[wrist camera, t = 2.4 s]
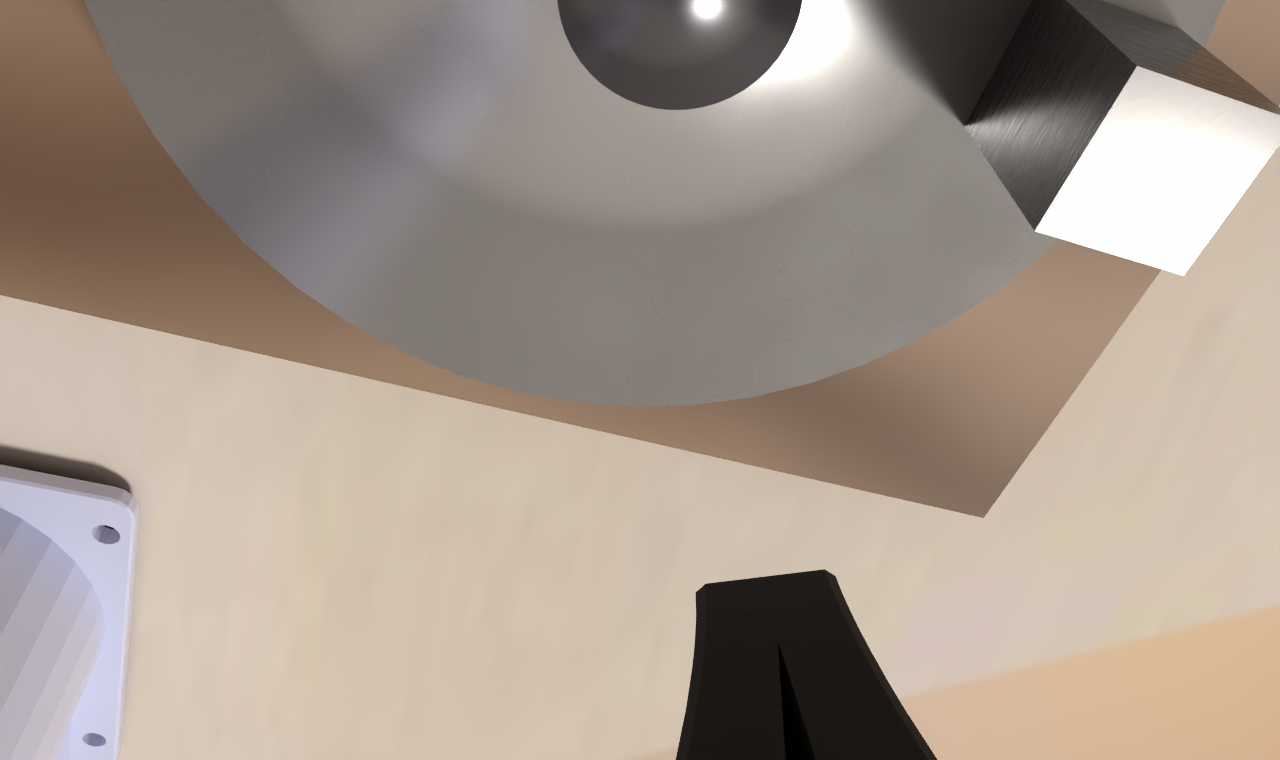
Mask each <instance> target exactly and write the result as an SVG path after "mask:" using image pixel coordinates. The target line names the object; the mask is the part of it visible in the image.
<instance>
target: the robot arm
mask: <svg viewBox="0 0 1280 760" xmlns="http://www.w3.org/2000/svg"><path fill="white" fill-rule="evenodd" d="M139 515H140V508H139V503H138V501H137V500H136V499H135V497H134V496H133V495H132V494H130V493H128V492H127V491H125V490H124V489H121V488H118V487H114V486H109V485H104V484H99V483H94V482H88V481H83V480H78V479H73V478H68V477H63V476H57V475H52V474H47V473H42V472H37V471H32V470H27V469H21V468H16V467H11V466H6V465H1V464H0V760H118V758H119V755H120V746H121V734H122V722H123V710H124V697H125V685H126V673H127V661H128V649H129V637H130V624H131V612H132V600H133V588H134V576H135V564H136V551H137V539H138V527H139ZM104 525H107V526H110V527H113V528H114V529H116V530H112V529H109V528H107V527H105V526H104ZM676 760H937V758H936V757H935V755H934V754H933V752H932V751H931V749H930V748H929V746H928V745H927V743H926V742H925V740H924V738H923V737H922V735H921V734H920V732H919V731H918V729H917V728H916V726H915V725H914V723H913V721H912V720H911V718H910V717H909V715H908V714H907V712H906V711H905V709H904V707H903V706H902V704H901V702H900V701H899V699H898V698H897V696H896V694H895V693H894V691H893V689H892V688H891V686H890V684H889V683H888V681H887V679H886V677H885V676H884V674H883V672H882V670H881V668H880V667H879V665H878V663H877V661H876V660H875V658H874V656H873V654H872V653H871V651H870V649H869V647H868V645H867V643H866V641H865V639H864V638H863V636H862V634H861V632H860V630H859V628H858V626H857V624H856V622H855V620H854V618H853V616H852V614H851V612H850V609H849V607H848V605H847V603H846V601H845V599H844V596H843V594H842V592H841V589H840V587H839V584H838V582H837V579H836V576H834V575H833V574H831V573H829V572H828V571H826V570H817V571H808V572H800V573H792V574H783V575H775V576H767V577H759V578H750V579H742V580H734V581H726V582H717V583H709V584H705V585H704V586H703V587H702V588H701V589H699V590H698V591H697V592H696V635H695V648H694V658H693V667H692V674H691V681H690V688H689V694H688V701H687V707H686V713H685V718H684V722H683V727H682V732H681V737H680V742H679V747H678V752H677V757H676Z"/></svg>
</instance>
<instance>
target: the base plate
mask: <svg viewBox="0 0 1280 760" xmlns="http://www.w3.org/2000/svg"><path fill="white" fill-rule="evenodd" d="M1204 48H1205V49H1207V50H1208V51H1209V52H1210V53H1212V54H1213V55H1214V56H1215V57H1217V58H1218V59H1219V60H1220V61H1222V62H1223V63H1224V64H1225V65H1227V66H1228V67H1229V68H1231V69H1232V70H1233V71H1234V72H1236V73H1237V74H1238V75H1239V76H1241V77H1242V78H1243V79H1244V80H1246V81H1247V82H1248V83H1249V84H1251V85H1252V86H1253V87H1254V88H1256V89H1257V90H1258V91H1259V92H1261V93H1262V94H1263V95H1265V96H1266V97H1267V98H1268V99H1270V100H1271V101H1272V102H1273V103H1275V104H1276V105H1277V106H1279V105H1280V0H1226V1H1225V3H1224V5H1223V7H1222V10H1221V12H1220V14H1219V16H1218V18H1217V21H1216V23H1215V25H1214V27H1213V30H1212V32H1211V34H1210V36H1209V39H1208V41H1207V43H1206V45H1205V47H1204ZM1160 271H1161V269H1160V268H1157V267H1153V266H1150V265H1146V264H1143V263H1140V262H1136V261H1133V260H1130V259H1126V258H1123V257H1120V256H1116V255H1113V254H1110V253H1106V252H1103V251H1099V250H1096V249H1093V248H1089V247H1086V246H1083V245H1079V244H1076V243H1073V242H1069V241H1066V240H1063V239H1058V240H1057V241H1056V242H1055V243H1054V244H1053V245H1052V246H1051V247H1049V248H1048V249H1047V250H1046V251H1045V252H1044V253H1043V254H1042V255H1041V256H1040V257H1038V258H1037V259H1036V260H1035V261H1034V262H1033V263H1032V264H1031V265H1030V266H1029V267H1027V268H1026V269H1025V270H1023V271H1022V272H1021V273H1019V274H1018V275H1017V276H1015V277H1014V278H1013V279H1011V280H1010V281H1008V282H1007V283H1006V284H1004V285H1003V286H1002V287H1000V288H999V289H998V290H996V291H995V292H994V293H992V294H991V295H989V296H988V297H987V298H985V299H984V300H983V301H981V302H980V303H979V304H977V305H976V306H974V307H973V308H971V309H969V310H968V311H966V312H964V313H963V314H961V315H959V316H958V317H956V318H954V319H952V320H951V321H949V322H947V323H946V324H944V325H942V326H941V327H939V328H937V329H936V330H934V331H932V332H931V333H929V334H927V335H925V336H924V337H922V338H920V339H918V340H916V341H914V342H912V343H909V344H907V345H905V346H903V347H901V348H899V349H897V350H894V351H892V352H890V353H888V354H886V355H884V356H882V357H879V358H877V359H875V360H873V361H871V362H869V363H866V364H864V365H861V366H858V367H855V368H852V369H850V370H847V371H844V372H841V373H838V374H835V375H832V376H829V377H827V378H824V379H821V380H818V381H815V382H812V383H809V384H805V385H801V386H797V387H793V388H788V389H784V390H780V391H776V392H772V393H768V394H763V395H759V396H755V397H750V398H743V399H735V400H728V401H720V402H713V403H705V404H698V405H679V406H647V407H630V406H616V405H602V404H589V403H576V402H570V401H565V400H559V399H553V398H548V397H542V396H537V395H531V394H525V393H520V392H516V391H512V390H509V389H505V388H502V387H498V386H495V385H491V384H488V383H485V382H481V381H478V380H474V379H471V378H467V377H464V376H461V375H458V374H456V373H453V372H451V371H448V370H446V369H443V368H441V367H438V366H436V365H433V364H431V363H428V362H426V361H423V360H421V359H419V358H416V357H414V356H411V355H409V354H406V353H404V352H402V351H400V350H398V349H397V348H395V347H393V346H391V345H389V344H387V343H385V342H383V341H382V340H380V339H378V338H376V337H374V336H372V335H370V334H368V333H367V332H365V331H363V330H361V329H359V328H357V327H355V326H353V325H352V324H350V323H348V322H347V321H345V320H344V319H342V318H341V317H340V316H338V315H337V314H335V313H334V312H332V311H331V310H329V309H328V308H326V307H325V306H323V305H322V304H320V303H319V302H317V301H316V300H315V299H313V298H312V297H310V296H309V295H307V294H306V293H304V292H303V291H301V290H300V289H298V288H297V287H296V286H294V285H293V284H292V283H291V282H290V281H289V280H287V279H286V278H285V277H284V276H283V275H282V274H280V273H279V272H278V271H277V270H276V269H274V268H273V267H272V266H271V265H270V264H269V263H267V262H266V261H265V260H264V259H263V258H262V257H260V256H259V255H258V254H257V253H256V252H254V251H253V250H252V249H251V248H250V247H249V246H247V245H246V244H245V243H244V242H243V241H242V240H241V239H240V238H239V236H238V235H237V234H236V233H235V232H234V231H233V230H232V229H231V228H230V227H229V226H228V225H227V224H226V223H225V222H224V221H223V219H222V218H221V217H220V216H219V215H218V214H217V213H216V212H215V211H214V210H213V209H212V208H211V207H210V206H209V205H208V204H207V203H206V201H205V200H204V199H203V198H202V197H201V196H200V195H199V194H198V193H197V192H196V190H195V189H194V188H193V186H192V185H191V184H190V182H189V181H188V180H187V178H186V177H185V176H184V174H183V173H182V172H181V170H180V169H179V168H178V167H177V165H176V164H175V163H174V161H173V160H172V159H171V157H170V156H169V155H168V153H167V152H166V151H165V149H164V148H163V147H162V145H161V144H160V143H159V141H158V140H157V139H156V137H155V136H154V135H153V133H152V131H151V130H150V128H149V126H148V125H147V123H146V121H145V120H144V118H143V116H142V114H141V113H140V111H139V109H138V108H137V106H136V104H135V103H134V101H133V99H132V98H131V96H130V94H129V92H128V91H127V89H126V87H125V86H124V84H123V82H122V81H121V79H120V77H119V76H118V74H117V72H116V71H115V69H114V67H113V65H112V62H111V60H110V58H109V56H108V53H107V51H106V49H105V47H104V44H103V42H102V40H101V38H100V35H99V33H98V31H97V29H96V27H95V24H94V22H93V20H92V18H91V15H90V13H89V11H88V9H87V6H86V4H85V2H84V0H0V295H3V296H7V297H12V298H16V299H21V300H25V301H29V302H34V303H38V304H43V305H47V306H51V307H56V308H60V309H65V310H69V311H73V312H78V313H82V314H87V315H91V316H96V317H100V318H104V319H109V320H113V321H118V322H122V323H126V324H131V325H135V326H140V327H144V328H148V329H153V330H157V331H162V332H166V333H171V334H175V335H179V336H184V337H188V338H193V339H197V340H201V341H206V342H210V343H215V344H219V345H223V346H228V347H232V348H237V349H241V350H246V351H250V352H254V353H259V354H263V355H268V356H272V357H276V358H281V359H285V360H290V361H294V362H298V363H303V364H307V365H312V366H316V367H321V368H325V369H329V370H334V371H338V372H343V373H347V374H351V375H356V376H360V377H365V378H369V379H373V380H378V381H382V382H387V383H391V384H396V385H400V386H404V387H409V388H413V389H418V390H422V391H426V392H431V393H435V394H440V395H444V396H448V397H453V398H457V399H462V400H466V401H471V402H475V403H479V404H484V405H488V406H493V407H497V408H501V409H506V410H510V411H515V412H519V413H523V414H528V415H532V416H537V417H541V418H546V419H550V420H554V421H559V422H563V423H568V424H572V425H576V426H581V427H585V428H590V429H594V430H598V431H603V432H607V433H612V434H616V435H621V436H625V437H629V438H634V439H638V440H643V441H647V442H651V443H656V444H660V445H665V446H669V447H673V448H678V449H682V450H687V451H691V452H696V453H700V454H704V455H709V456H713V457H718V458H722V459H726V460H731V461H735V462H740V463H744V464H748V465H753V466H757V467H762V468H766V469H771V470H775V471H779V472H784V473H788V474H793V475H797V476H801V477H806V478H810V479H815V480H819V481H823V482H828V483H832V484H837V485H841V486H846V487H850V488H854V489H859V490H863V491H868V492H872V493H876V494H881V495H885V496H890V497H894V498H898V499H903V500H907V501H912V502H916V503H921V504H925V505H929V506H934V507H938V508H943V509H947V510H951V511H956V512H960V513H965V514H969V515H973V516H978V517H982V518H984V517H985V515H986V514H987V512H988V511H989V510H990V508H991V507H992V505H993V504H994V503H995V501H996V500H997V498H998V497H999V496H1000V494H1001V493H1002V491H1003V490H1004V489H1005V487H1006V486H1007V484H1008V483H1009V482H1010V480H1011V479H1012V477H1013V476H1014V475H1015V473H1016V472H1017V470H1018V469H1019V468H1020V466H1021V465H1022V463H1023V462H1024V461H1025V459H1026V458H1027V456H1028V455H1029V454H1030V452H1031V451H1032V449H1033V448H1034V447H1035V445H1036V444H1037V443H1038V441H1039V440H1040V438H1041V437H1042V436H1043V434H1044V433H1045V431H1046V430H1047V429H1048V427H1049V426H1050V424H1051V423H1052V422H1053V420H1054V419H1055V417H1056V416H1057V415H1058V413H1059V412H1060V410H1061V409H1062V408H1063V406H1064V405H1065V403H1066V402H1067V401H1068V399H1069V398H1070V396H1071V395H1072V394H1073V392H1074V391H1075V389H1076V388H1077V387H1078V385H1079V384H1080V382H1081V381H1082V380H1083V378H1084V377H1085V375H1086V374H1087V373H1088V371H1089V370H1090V369H1091V367H1092V366H1093V364H1094V363H1095V362H1096V360H1097V359H1098V357H1099V356H1100V355H1101V353H1102V352H1103V350H1104V349H1105V348H1106V346H1107V345H1108V343H1109V342H1110V341H1111V339H1112V338H1113V336H1114V335H1115V334H1116V332H1117V331H1118V329H1119V328H1120V327H1121V325H1122V324H1123V322H1124V321H1125V320H1126V318H1127V317H1128V315H1129V314H1130V313H1131V311H1132V310H1133V308H1134V307H1135V306H1136V304H1137V303H1138V302H1139V300H1140V299H1141V297H1142V296H1143V295H1144V293H1145V292H1146V290H1147V289H1148V288H1149V286H1150V285H1151V283H1152V282H1153V281H1154V279H1155V278H1156V276H1157V275H1158V274H1159V272H1160Z"/></svg>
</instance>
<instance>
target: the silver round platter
mask: <svg viewBox="0 0 1280 760" xmlns="http://www.w3.org/2000/svg"><path fill="white" fill-rule="evenodd" d="M1225 1H1226V0H84V2H85V4H86V6H87V9H88V11H89V13H90V15H91V18H92V20H93V22H94V24H95V27H96V29H97V31H98V33H99V35H100V38H101V40H102V42H103V44H104V47H105V49H106V51H107V53H108V56H109V58H110V60H111V62H112V65H113V67H114V69H115V71H116V72H117V74H118V76H119V77H120V79H121V81H122V82H123V84H124V86H125V87H126V89H127V91H128V92H129V94H130V96H131V98H132V99H133V101H134V103H135V104H136V106H137V108H138V109H139V111H140V113H141V114H142V116H143V118H144V120H145V121H146V123H147V125H148V126H149V128H150V130H151V131H152V133H153V135H154V136H155V137H156V139H157V140H158V141H159V143H160V144H161V145H162V147H163V148H164V149H165V151H166V152H167V153H168V155H169V156H170V157H171V159H172V160H173V161H174V163H175V164H176V165H177V167H178V168H179V169H180V170H181V172H182V173H183V174H184V176H185V177H186V178H187V180H188V181H189V182H190V184H191V185H192V186H193V188H194V189H195V190H196V192H197V193H198V194H199V195H200V196H201V197H202V198H203V199H204V200H205V201H206V203H207V204H208V205H209V206H210V207H211V208H212V209H213V210H214V211H215V212H216V213H217V214H218V215H219V216H220V217H221V218H222V219H223V221H224V222H225V223H226V224H227V225H228V226H229V227H230V228H231V229H232V230H233V231H234V232H235V233H236V234H237V235H238V236H239V238H240V239H241V240H242V241H243V242H244V243H245V244H246V245H247V246H249V247H250V248H251V249H252V250H253V251H254V252H256V253H257V254H258V255H259V256H260V257H262V258H263V259H264V260H265V261H266V262H267V263H269V264H270V265H271V266H272V267H273V268H274V269H276V270H277V271H278V272H279V273H280V274H282V275H283V276H284V277H285V278H286V279H287V280H289V281H290V282H291V283H292V284H293V285H294V286H296V287H297V288H298V289H300V290H301V291H303V292H304V293H306V294H307V295H309V296H310V297H312V298H313V299H315V300H316V301H317V302H319V303H320V304H322V305H323V306H325V307H326V308H328V309H329V310H331V311H332V312H334V313H335V314H337V315H338V316H340V317H341V318H342V319H344V320H345V321H347V322H348V323H350V324H352V325H353V326H355V327H357V328H359V329H361V330H363V331H365V332H367V333H368V334H370V335H372V336H374V337H376V338H378V339H380V340H382V341H383V342H385V343H387V344H389V345H391V346H393V347H395V348H397V349H398V350H400V351H402V352H404V353H406V354H409V355H411V356H414V357H416V358H419V359H421V360H423V361H426V362H428V363H431V364H433V365H436V366H438V367H441V368H443V369H446V370H448V371H451V372H453V373H456V374H458V375H461V376H464V377H467V378H471V379H474V380H478V381H481V382H485V383H488V384H491V385H495V386H498V387H502V388H505V389H509V390H512V391H516V392H520V393H525V394H531V395H537V396H542V397H548V398H553V399H559V400H565V401H570V402H576V403H589V404H602V405H616V406H630V407H647V406H679V405H698V404H705V403H713V402H720V401H728V400H735V399H743V398H750V397H755V396H759V395H763V394H768V393H772V392H776V391H780V390H784V389H788V388H793V387H797V386H801V385H805V384H809V383H812V382H815V381H818V380H821V379H824V378H827V377H829V376H832V375H835V374H838V373H841V372H844V371H847V370H850V369H852V368H855V367H858V366H861V365H864V364H866V363H869V362H871V361H873V360H875V359H877V358H879V357H882V356H884V355H886V354H888V353H890V352H892V351H894V350H897V349H899V348H901V347H903V346H905V345H907V344H909V343H912V342H914V341H916V340H918V339H920V338H922V337H924V336H925V335H927V334H929V333H931V332H932V331H934V330H936V329H937V328H939V327H941V326H942V325H944V324H946V323H947V322H949V321H951V320H952V319H954V318H956V317H958V316H959V315H961V314H963V313H964V312H966V311H968V310H969V309H971V308H973V307H974V306H976V305H977V304H979V303H980V302H981V301H983V300H984V299H985V298H987V297H988V296H989V295H991V294H992V293H994V292H995V291H996V290H998V289H999V288H1000V287H1002V286H1003V285H1004V284H1006V283H1007V282H1008V281H1010V280H1011V279H1013V278H1014V277H1015V276H1017V275H1018V274H1019V273H1021V272H1022V271H1023V270H1025V269H1026V268H1027V267H1029V266H1030V265H1031V264H1032V263H1033V262H1034V261H1035V260H1036V259H1037V258H1038V257H1040V256H1041V255H1042V254H1043V253H1044V252H1045V251H1046V250H1047V249H1048V248H1049V247H1051V246H1052V245H1053V244H1054V243H1055V242H1056V241H1057V240H1058V239H1063V240H1066V241H1069V242H1073V243H1076V244H1079V245H1083V246H1086V247H1089V248H1093V249H1096V250H1099V251H1103V252H1106V253H1110V254H1113V255H1116V256H1120V257H1123V258H1126V259H1130V260H1133V261H1136V262H1140V263H1143V264H1146V265H1150V266H1153V267H1157V268H1160V269H1163V270H1167V271H1170V272H1173V273H1177V274H1180V275H1183V276H1184V274H1185V273H1186V272H1187V270H1188V269H1189V268H1190V266H1191V265H1192V263H1193V262H1194V261H1195V259H1196V258H1197V257H1198V255H1199V254H1200V253H1201V251H1202V250H1203V248H1204V247H1205V246H1206V244H1207V243H1208V242H1209V240H1210V239H1211V238H1212V236H1213V235H1214V233H1215V232H1216V231H1217V229H1218V228H1219V227H1220V225H1221V224H1222V222H1223V221H1224V220H1225V218H1226V217H1227V216H1228V214H1229V213H1230V212H1231V210H1232V209H1233V207H1234V206H1235V205H1236V203H1237V202H1238V201H1239V199H1240V198H1241V197H1242V195H1243V194H1244V192H1245V191H1246V190H1247V188H1248V187H1249V186H1250V184H1251V183H1252V182H1253V180H1254V179H1255V177H1256V176H1257V175H1258V173H1259V172H1260V171H1261V169H1262V168H1263V167H1264V165H1265V164H1266V162H1267V161H1268V160H1269V158H1270V157H1271V156H1272V154H1273V153H1274V152H1275V150H1276V149H1277V147H1278V146H1279V145H1280V107H1278V106H1277V105H1276V104H1275V103H1273V102H1272V101H1271V100H1270V99H1268V98H1267V97H1266V96H1265V95H1263V94H1262V93H1261V92H1259V91H1258V90H1257V89H1256V88H1254V87H1253V86H1252V85H1251V84H1249V83H1248V82H1247V81H1246V80H1244V79H1243V78H1242V77H1241V76H1239V75H1238V74H1237V73H1236V72H1234V71H1233V70H1232V69H1231V68H1229V67H1228V66H1227V65H1225V64H1224V63H1223V62H1222V61H1220V60H1219V59H1218V58H1217V57H1215V56H1214V55H1213V54H1212V53H1210V52H1209V51H1208V50H1207V49H1205V48H1204V47H1205V45H1206V43H1207V41H1208V39H1209V36H1210V34H1211V32H1212V30H1213V27H1214V25H1215V23H1216V21H1217V18H1218V16H1219V14H1220V12H1221V10H1222V7H1223V5H1224V3H1225Z"/></svg>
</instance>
